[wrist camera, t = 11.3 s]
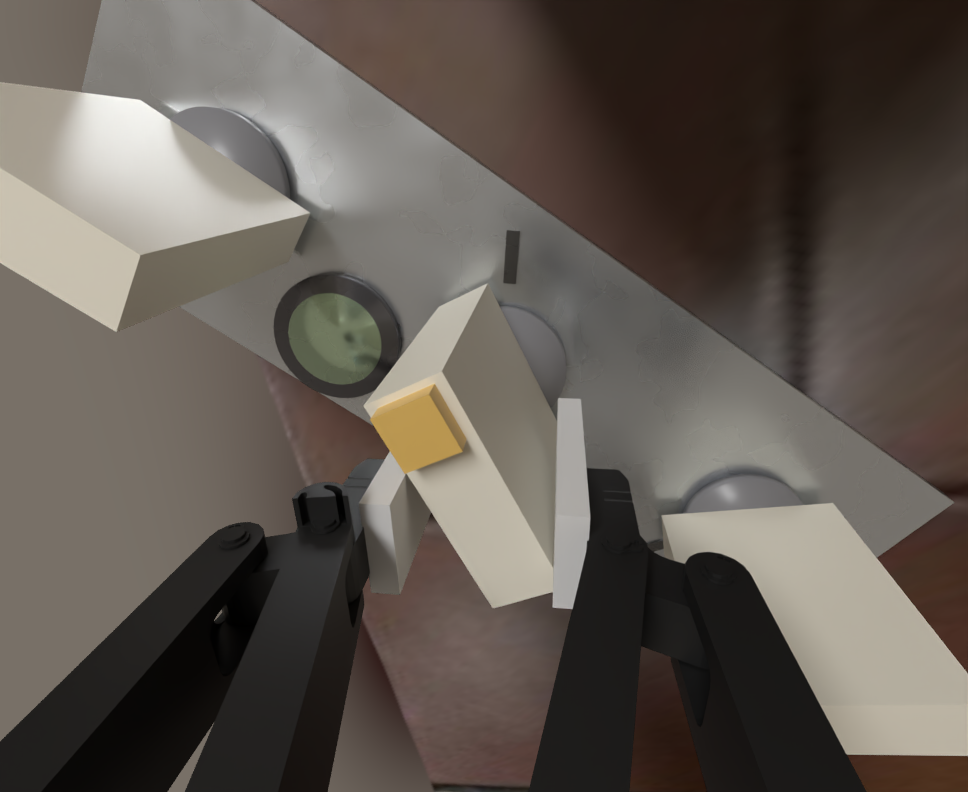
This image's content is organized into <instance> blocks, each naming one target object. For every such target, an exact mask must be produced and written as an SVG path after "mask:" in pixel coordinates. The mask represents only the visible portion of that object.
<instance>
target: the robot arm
mask: <svg viewBox="0 0 968 792" xmlns="http://www.w3.org/2000/svg"><path fill="white" fill-rule="evenodd" d="M292 501H293V505H294V510H295V516H296V521H297V526H298V528H297V530H296V532H294V533H290V534H284V535H278V536H270V537H265V535H264V531H263V528H262V527H261V526H260V525H259V524H255V523H251V522H243V523H236V524H232V525H229V526H226V527H224V528H222V529H220V530H218V531H217V532H215V533H214V534H213V535H211V536H210V537H209V538H208V539H207V540H206V541H205V542H204V543H203V544H202V545H201V546H200V547H199V548H198V549H197V550H196V551H195V552H194V553H192V555H190V556H189V557H188V558H187V559H186V560H185V561H184V562H183V563H182V564H181V565H180V566H179V567H178V568H177V569H176V570H175V571H174V572H173V573H172V574H171V575H170V576H169V577H168V578H167V579H166V580H165V581H164V582H163V583H162V584H161V585H160V586H159V587H158V588H157V589H156V590H155V591H154V592H153V593H152V594H151V595H150V596H149V597H148V598H147V599H146V600H145V601H143V602H142V603H141V604H140V605H139V606H138V607H137V608H136V609H135V610H134V611H133V612H132V613H131V614H130V615H129V616H128V617H127V618H126V619H125V620H124V621H123V622H122V623H121V624H120V625H119V626H118V627H117V628H116V629H115V630H114V631H113V632H112V633H111V634H110V635H109V636H108V637H107V638H106V639H105V640H104V641H103V642H101V644H99V645H98V646H97V647H96V648H95V649H94V651H92V652H91V653H90V654H89V655H88V656H87V657H86V658H85V659H84V660H83V661H82V662H81V663H80V664H79V665H78V666H77V667H76V668H75V669H74V670H73V671H72V672H71V673H70V674H69V675H68V676H67V677H66V678H65V679H64V680H63V681H62V682H61V683H60V684H59V685H58V686H57V687H55V688H54V690H53V691H51V692H50V693H49V694H48V695H47V697H45V698H44V700H42V701H41V702H40V703H39V704H38V705H37V706H36V707H35V708H34V709H33V710H32V711H31V712H30V713H29V714H28V715H27V716H26V717H25V718H24V719H23V720H22V721H21V722H20V723H19V724H18V725H17V726H16V727H15V728H14V729H13V730H12V731H11V732H9V734H7V735H6V737H4V738H3V739H2V740H1V741H0V792H167V791H168V790H169V788H170V787H171V785H172V784H173V782H174V781H175V779H176V778H177V777H178V775H179V773H180V772H181V770H182V769H183V768H184V766H185V765H186V763H187V762H188V760H189V759H190V757H191V756H192V754H193V753H194V751H195V750H196V748H197V747H198V745H199V744H200V742H201V741H202V739H203V738H204V736H205V735H206V733H207V732H208V730H209V729H210V727H211V726H212V724H213V723H214V725H213V727H212V729H211V732H210V734H209V736H208V739H207V741H206V743H205V746H204V748H203V750H202V753H201V755H200V758H199V760H198V762H197V764H196V767H195V769H194V771H193V774H192V776H191V778H190V781H189V783H188V786H187V788H186V790H185V792H328V787H329V782H330V777H331V772H332V767H333V762H334V756H335V751H336V746H337V741H338V735H339V730H340V725H341V721H342V715H343V710H344V705H345V700H346V695H347V690H348V685H349V680H350V675H351V669H352V665H353V659H354V654H355V649H356V644H357V639H358V634H359V629H360V624H361V619H362V614H363V608H364V596H363V590H362V589H363V587H364V585H365V583H366V581H367V579H368V577H369V580H370V587H371V592H373V593H385V594H397V595H400V593H401V591H402V588H403V585H404V583H405V580H406V577H407V575H408V572H409V569H410V567H411V564H412V561H413V559H414V556H415V553H416V551H417V548H418V545H419V543H420V540H421V537H422V535H423V532H424V530H425V527H426V524H427V522H428V519H429V516H430V514H431V511H430V509H429V508H428V506H427V505H426V503H425V502H424V500H423V498H422V497H421V495H420V494H419V492H418V491H417V489H416V488H415V486H414V484H413V483H412V481H411V480H410V478H409V477H408V475H407V473H406V474H404V472H403V471H402V469H401V467H400V466H399V464H398V463H397V461H396V460H395V458H394V457H393V455H392V453H391V452H389V454H388V455H387V457H386V459H385V460H384V459H366V460H365V461H363V462H362V463H360V464H359V465H357V466H356V467H355V468H354V469H353V471H352V472H351V473H350V475H349V476H348V479H346V481H345V482H344V484H343V485H341V484H338V483H333V482H323V483H317V484H313V485H310V486H308V487H305V488H303V489H302V490H300V491H299V492H297V493H296V494H295V496H294V497H293V498H292ZM553 608H564V609H572V613H571V617H570V621H569V626H568V630H567V634H566V638H565V642H564V646H563V651H562V655H561V659H560V663H559V667H558V671H557V676H556V680H555V684H554V688H553V692H552V696H551V701H550V705H549V709H548V713H547V717H546V721H545V726H544V730H543V734H542V738H541V742H540V746H539V751H538V755H537V759H536V763H535V767H534V771H533V776H532V780H531V784H530V788H529V792H629V789H630V777H631V764H632V752H633V739H634V726H635V714H636V701H637V689H638V676H639V663H640V651H641V646H643V647H645V648H648V649H651V650H654V651H656V652H659V653H662V654H664V655H667V656H670V657H671V662H672V666H673V669H674V673H675V676H676V680H677V684H678V687H679V691H680V695H681V698H682V702H683V705H684V709H685V713H686V716H687V720H688V724H689V727H690V731H691V734H692V738H693V742H694V745H695V749H696V753H697V756H698V760H699V763H700V767H701V771H702V774H703V778H704V782H705V785H706V789H707V792H866V790H865V788H864V786H863V785H862V783H861V781H860V779H859V777H858V775H857V773H856V771H855V770H854V768H853V766H852V764H851V762H850V760H849V758H848V756H847V754H846V753H845V751H844V749H843V747H842V745H841V743H840V741H839V739H838V738H837V736H836V734H835V732H834V730H833V728H832V726H831V724H830V722H829V721H828V719H827V717H826V715H825V713H824V711H823V709H822V707H821V706H820V704H819V702H818V700H817V698H816V696H815V694H814V692H813V690H812V689H811V687H810V685H809V683H808V681H807V679H806V677H805V675H804V673H803V672H802V670H801V668H800V666H799V664H798V662H797V660H796V658H795V657H794V655H793V653H792V651H791V649H790V647H789V645H788V643H787V641H786V640H785V638H784V636H783V634H782V632H781V630H780V628H779V626H778V625H777V623H776V621H775V619H774V617H773V615H772V613H771V611H770V609H769V608H768V606H767V604H766V602H765V600H764V598H763V596H762V594H761V593H760V591H759V589H758V587H757V585H756V583H755V581H754V579H753V577H752V576H751V574H750V573H749V571H748V570H747V569H746V568H745V566H744V565H742V564H741V563H739V562H738V561H736V560H735V559H733V558H731V557H728V556H726V555H723V554H720V553H713V552H701V553H696V554H694V555H692V556H690V557H689V558H688V560H687V561H686V563H685V564H684V563H680V562H677V561H674V560H670V559H667V558H665V557H662V556H660V555H658V554H656V553H655V552H653V551H652V550H650V549H649V548H648V546H647V543H646V541H645V540H644V539H643V538H642V537H641V536H640V533H639V528H638V523H637V518H636V514H635V509H634V504H633V500H632V495H631V490H630V485H629V481H628V479H627V478H626V477H625V476H624V475H623V474H622V473H621V472H620V470H614V469H594V468H586V457H585V444H584V432H583V420H582V408H581V399H572V398H558V413H557V442H556V472H555V518H554V565H553ZM221 609H222V614H221V615H220V616H219V617H218V618H217V619H216V620H215V621H214V619H215V618H216V616H217V614H218V613H219V612H220V610H221Z"/></svg>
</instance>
